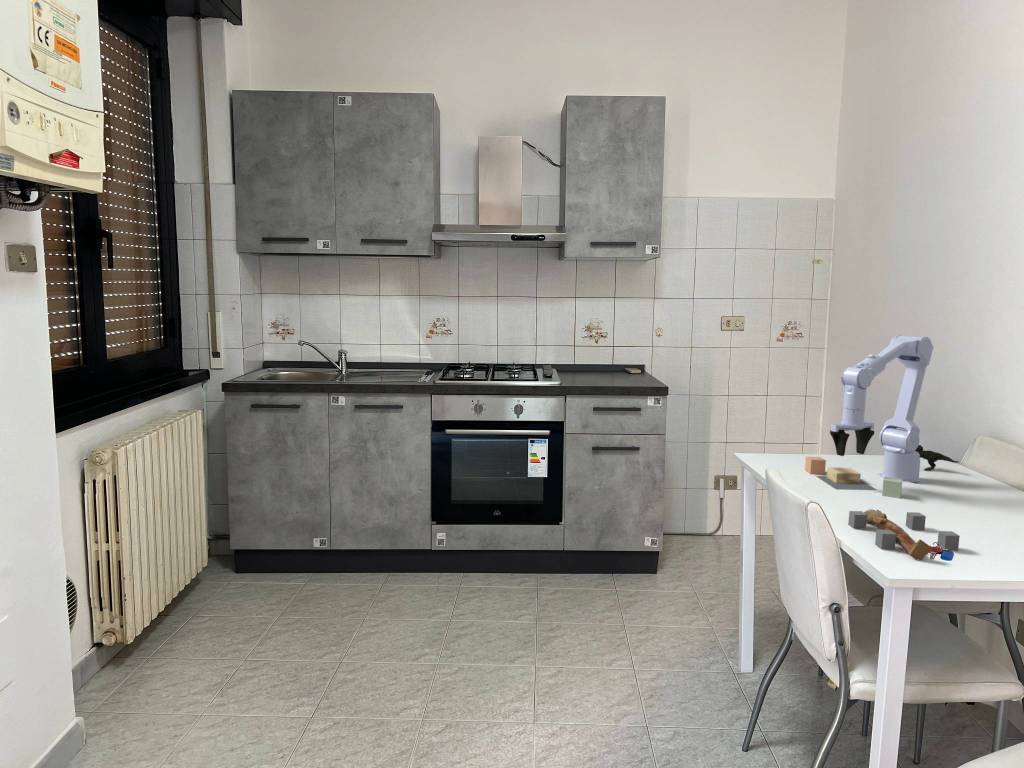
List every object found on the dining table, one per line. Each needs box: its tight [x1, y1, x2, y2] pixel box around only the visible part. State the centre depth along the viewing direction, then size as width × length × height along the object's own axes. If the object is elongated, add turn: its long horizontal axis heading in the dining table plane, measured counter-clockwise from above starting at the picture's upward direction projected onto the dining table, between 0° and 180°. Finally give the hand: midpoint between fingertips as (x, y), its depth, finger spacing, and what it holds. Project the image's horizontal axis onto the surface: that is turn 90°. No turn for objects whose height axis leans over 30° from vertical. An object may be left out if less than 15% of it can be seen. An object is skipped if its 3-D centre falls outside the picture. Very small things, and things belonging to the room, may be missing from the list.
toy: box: [914, 444, 960, 472], centre depth 238 cm, size 5×15×8 cm, turn 39°
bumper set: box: [847, 510, 960, 552], centre depth 173 cm, size 17×17×4 cm
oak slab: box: [826, 467, 862, 483], centre depth 223 cm, size 7×7×3 cm
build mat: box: [815, 475, 878, 491], centre depth 220 cm, size 12×15×1 cm
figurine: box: [863, 508, 933, 561], centre depth 173 cm, size 8×6×30 cm
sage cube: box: [881, 477, 903, 499], centre depth 207 cm, size 4×4×5 cm
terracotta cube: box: [804, 456, 827, 475], centre depth 232 cm, size 4×4×5 cm
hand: (850, 454), depth 216 cm, fingers open, 7 cm apart
